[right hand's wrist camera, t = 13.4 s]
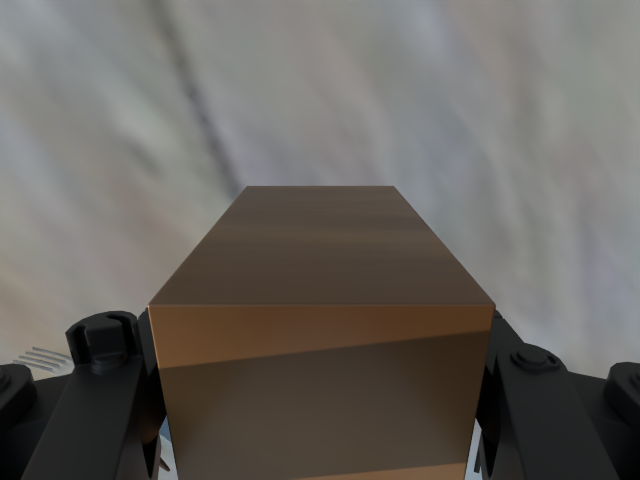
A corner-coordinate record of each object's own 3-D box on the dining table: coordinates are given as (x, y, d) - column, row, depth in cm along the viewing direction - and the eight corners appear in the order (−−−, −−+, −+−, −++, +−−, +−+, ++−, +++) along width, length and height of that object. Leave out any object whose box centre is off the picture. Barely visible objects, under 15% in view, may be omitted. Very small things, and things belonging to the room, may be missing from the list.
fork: (160, 471, 35) (151, 492, 33) (28, 346, 30) (8, 362, 28) (182, 460, 34) (174, 481, 32) (52, 331, 30) (33, 346, 28)
